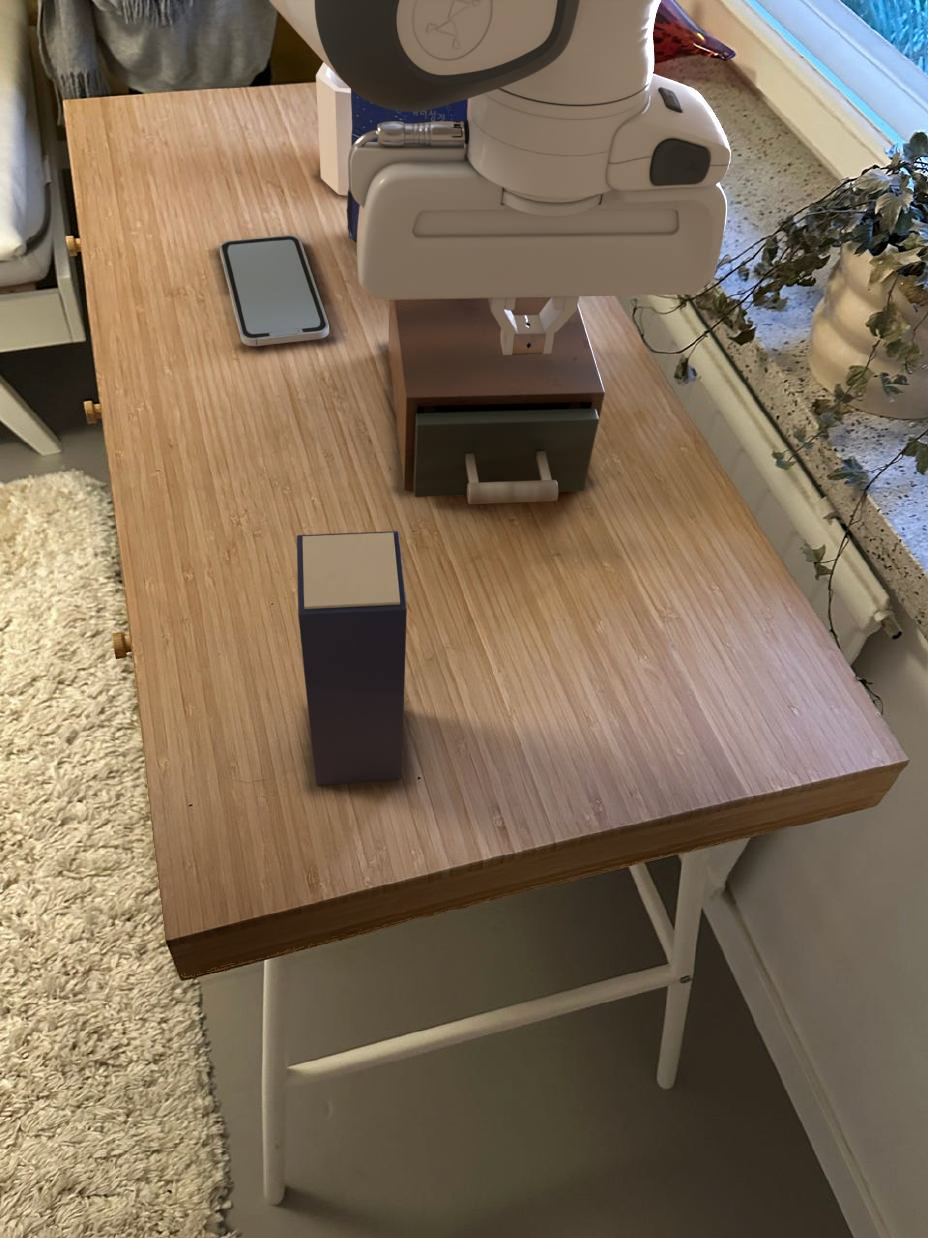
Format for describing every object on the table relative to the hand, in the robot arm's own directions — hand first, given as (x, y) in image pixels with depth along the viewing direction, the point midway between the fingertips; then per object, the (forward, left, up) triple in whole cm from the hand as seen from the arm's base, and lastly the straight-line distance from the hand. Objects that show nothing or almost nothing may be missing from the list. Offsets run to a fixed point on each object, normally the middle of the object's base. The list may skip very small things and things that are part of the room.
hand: (525, 348), depth 62 cm
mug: (-37, +27, -15) cm, 48 cm away
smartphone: (-31, +8, -15) cm, 35 cm away
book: (-25, +21, -15) cm, 36 cm away
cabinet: (-8, +8, -15) cm, 18 cm away
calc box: (+5, -21, -15) cm, 26 cm away
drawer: (-5, +5, -14) cm, 15 cm away
